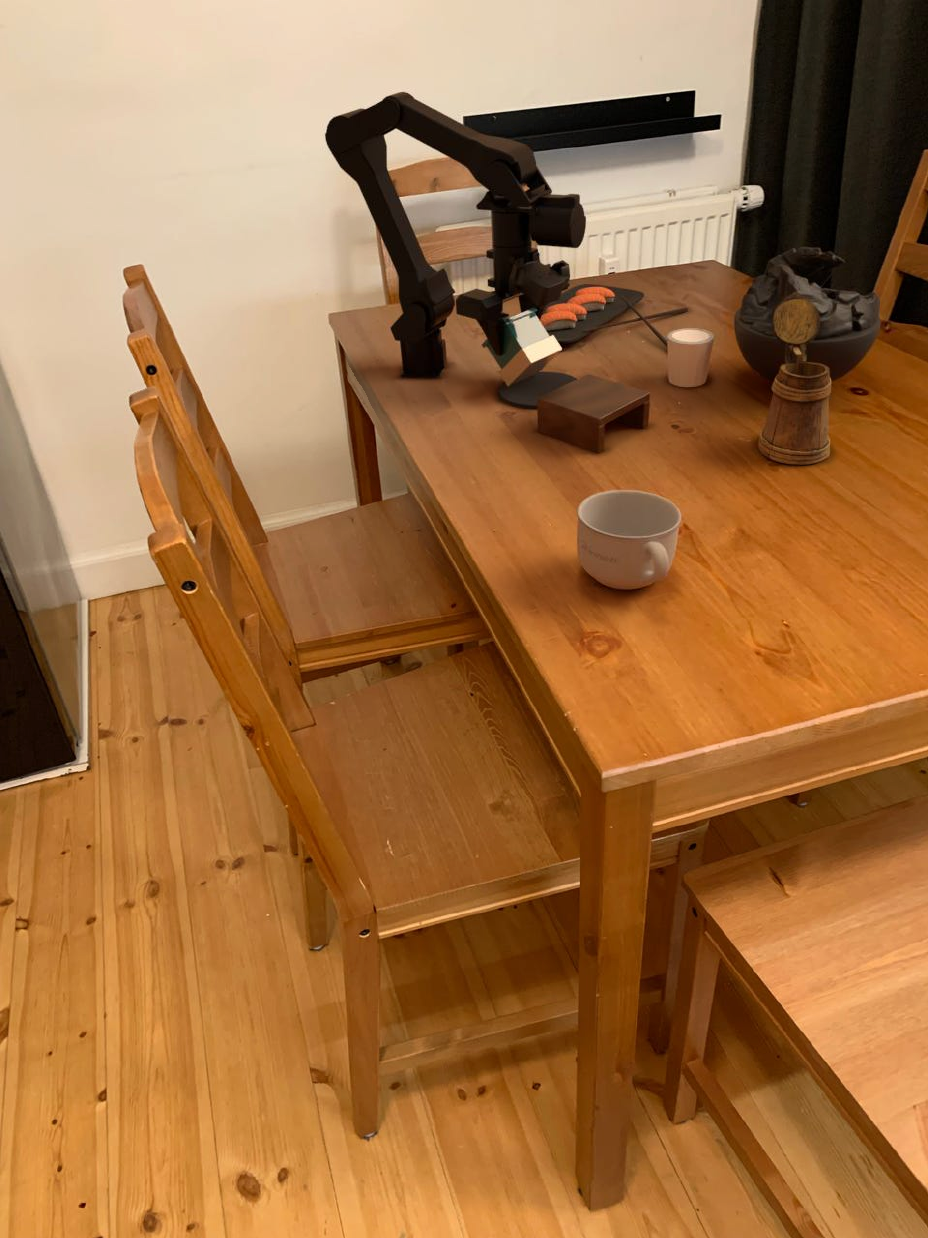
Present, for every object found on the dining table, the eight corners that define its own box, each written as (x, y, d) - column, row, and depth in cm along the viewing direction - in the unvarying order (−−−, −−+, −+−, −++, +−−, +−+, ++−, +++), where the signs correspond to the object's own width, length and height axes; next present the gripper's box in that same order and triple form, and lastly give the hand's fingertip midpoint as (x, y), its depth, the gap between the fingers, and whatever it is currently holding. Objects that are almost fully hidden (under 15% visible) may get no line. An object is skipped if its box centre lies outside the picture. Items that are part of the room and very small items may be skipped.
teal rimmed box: (481, 344, 146) (503, 319, 140) (512, 331, 150) (535, 306, 144) (507, 386, 146) (531, 363, 140) (538, 372, 150) (562, 349, 144)
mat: (492, 408, 143) (492, 404, 142) (504, 374, 153) (504, 371, 153) (580, 409, 140) (580, 405, 140) (586, 375, 151) (586, 371, 150)
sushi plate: (581, 291, 184) (581, 271, 182) (729, 314, 169) (732, 292, 167) (496, 340, 165) (495, 318, 163) (655, 370, 150) (656, 347, 148)
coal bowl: (827, 352, 152) (848, 228, 141) (894, 400, 136) (923, 265, 125) (707, 367, 150) (718, 243, 139) (761, 418, 134) (779, 283, 123)
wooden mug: (809, 419, 133) (830, 288, 123) (837, 463, 122) (863, 324, 112) (744, 422, 134) (760, 292, 123) (767, 467, 123) (786, 328, 112)
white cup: (710, 389, 143) (714, 343, 139) (663, 388, 145) (666, 343, 141) (709, 371, 149) (714, 327, 145) (665, 370, 150) (667, 326, 146)
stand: (537, 431, 135) (537, 398, 132) (587, 406, 141) (588, 373, 138) (598, 453, 129) (599, 419, 126) (648, 425, 135) (650, 392, 132)
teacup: (568, 552, 109) (569, 490, 104) (662, 543, 110) (666, 481, 105) (592, 624, 98) (594, 558, 93) (696, 613, 98) (703, 547, 94)
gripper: (507, 268, 127) (511, 379, 137) (597, 235, 137) (594, 342, 147) (450, 254, 134) (456, 362, 143) (539, 224, 144) (540, 326, 153)
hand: (514, 348), depth 146 cm, fingers closed on teal rimmed box, 7 cm apart
